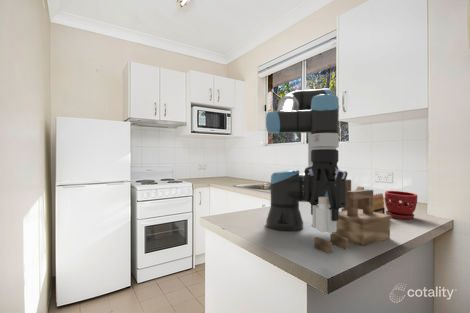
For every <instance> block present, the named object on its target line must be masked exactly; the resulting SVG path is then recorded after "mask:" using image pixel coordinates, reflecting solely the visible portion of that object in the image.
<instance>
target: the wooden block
mask: <svg viewBox="0 0 470 313" xmlns="http://www.w3.org/2000/svg"><path fill="white" fill-rule="evenodd" d="M355 190H365V187H364V186H357V187H356V189H355ZM347 191H352V180H351V179H347V178H346V206H345V207H344V208H341V211H347ZM358 209H362V210H363V199H358Z"/></svg>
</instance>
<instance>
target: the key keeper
mask: <svg viewBox="0 0 470 313" xmlns="http://www.w3.org/2000/svg"><path fill="white" fill-rule="evenodd" d="M329 235H330V236H329V240H330V241H329V240H326V239H324V238H321V237H318V236H314V237H313V247H314V248H316V249H319V250H321V251H323V252H326V253H327V254H331V253H332V254H333V245H334V246H338V247H340V248H343V249H346V250H347V249H349V241H348V238H345V237H342V236H339V235H336V234H333V233H329Z"/></svg>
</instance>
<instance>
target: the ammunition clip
mask: <svg viewBox="0 0 470 313" xmlns="http://www.w3.org/2000/svg"><path fill="white" fill-rule="evenodd" d="M373 212H377V213H382V214H386V208H385V200H384V193H382V192H381V193H375V194H374V193H373Z"/></svg>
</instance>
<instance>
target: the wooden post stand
mask: <svg viewBox="0 0 470 313" xmlns="http://www.w3.org/2000/svg"><path fill="white" fill-rule="evenodd" d="M373 195H374V189H367V188H366V189H365V188H364V190H356V189H355V190H351V191H347V211H342V210H340V211H339V215H338V216H339V219H341V220H345V221H349V222H353V223H357V224H361V225H365V224H370V223H375V222H379V221H384V220H389V219H390V220H392V218H393V217H392V215H387V214H386V213H385V214H382V213H377V212H373ZM358 199H363V210H362V209H358Z"/></svg>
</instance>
